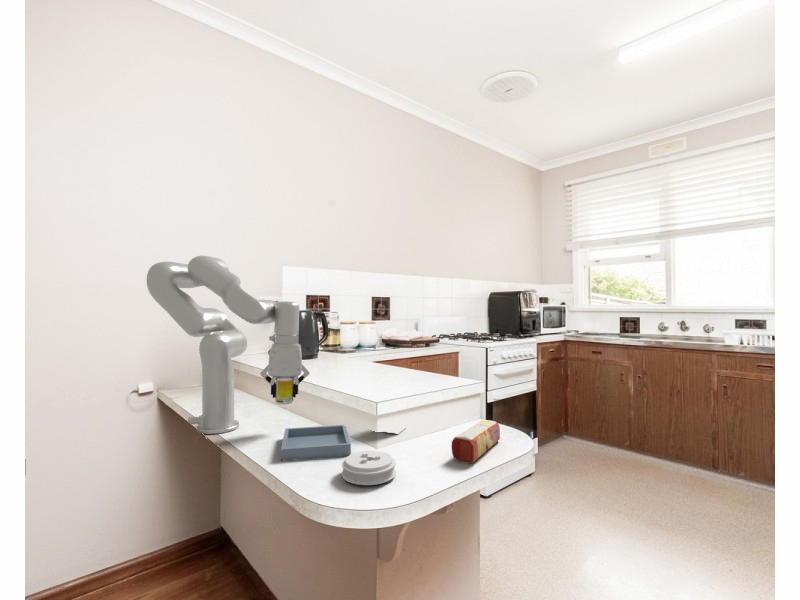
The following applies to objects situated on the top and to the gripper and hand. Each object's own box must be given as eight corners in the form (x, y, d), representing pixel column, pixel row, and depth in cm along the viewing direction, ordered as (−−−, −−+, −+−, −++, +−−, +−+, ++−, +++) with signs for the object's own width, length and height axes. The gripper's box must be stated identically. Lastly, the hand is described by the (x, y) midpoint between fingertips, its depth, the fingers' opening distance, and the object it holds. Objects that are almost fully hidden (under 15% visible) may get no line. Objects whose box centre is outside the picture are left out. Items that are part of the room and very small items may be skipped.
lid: (406, 480, 94) (406, 458, 94) (357, 494, 87) (357, 471, 87) (378, 462, 105) (378, 443, 105) (333, 473, 98) (333, 453, 98)
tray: (280, 461, 105) (280, 449, 105) (285, 438, 123) (285, 428, 123) (350, 455, 109) (350, 444, 109) (345, 434, 127) (345, 424, 127)
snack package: (480, 438, 123) (480, 416, 123) (502, 442, 120) (502, 419, 120) (450, 461, 106) (450, 435, 106) (474, 466, 102) (474, 439, 102)
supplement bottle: (296, 403, 129) (297, 371, 129) (279, 405, 126) (280, 372, 126) (288, 399, 134) (289, 368, 134) (272, 402, 130) (273, 370, 130)
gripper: (256, 341, 124) (254, 400, 124) (313, 341, 128) (312, 399, 128) (259, 338, 132) (257, 394, 132) (313, 339, 135) (312, 393, 135)
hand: (284, 396), depth 130 cm, fingers closed on supplement bottle, 5 cm apart
